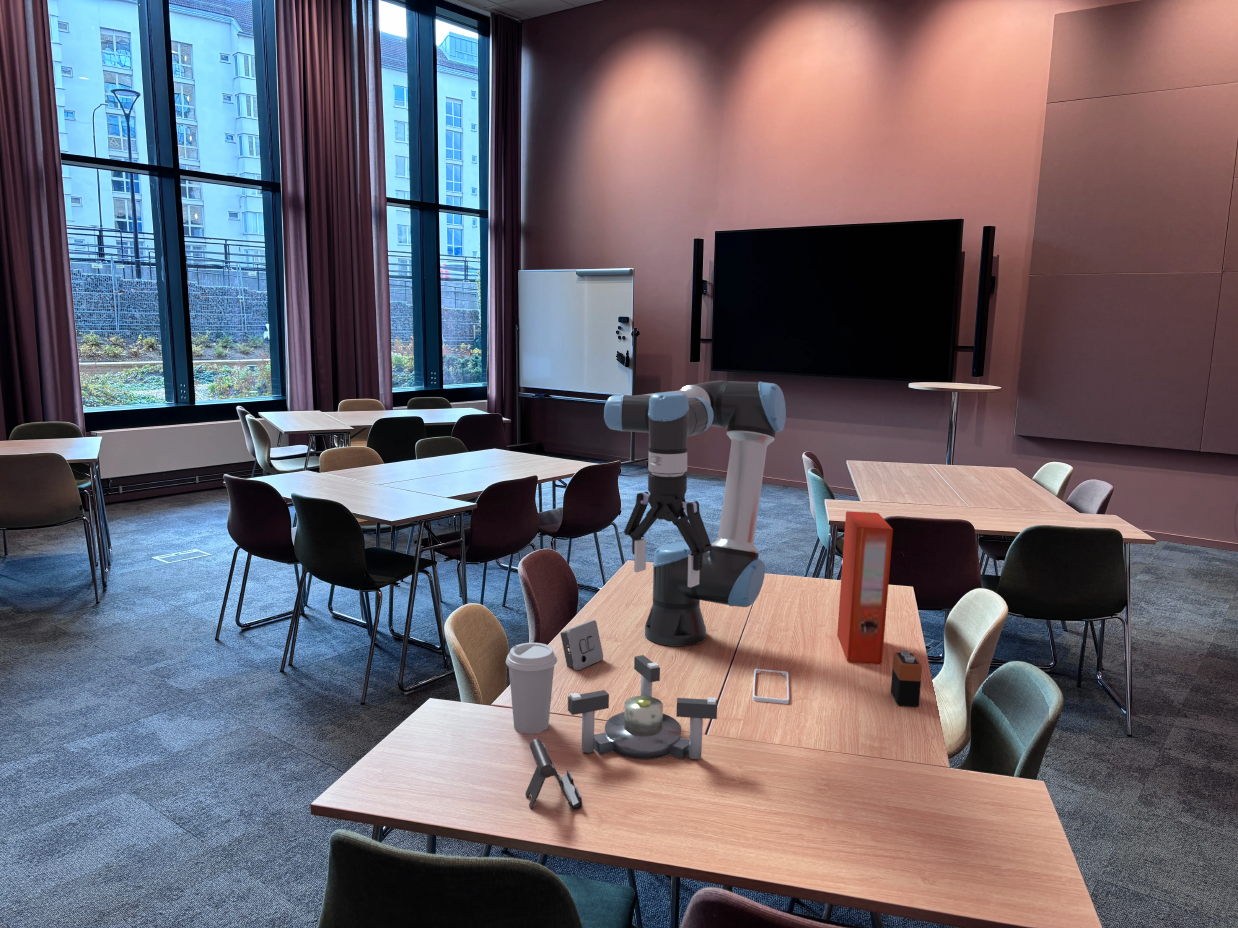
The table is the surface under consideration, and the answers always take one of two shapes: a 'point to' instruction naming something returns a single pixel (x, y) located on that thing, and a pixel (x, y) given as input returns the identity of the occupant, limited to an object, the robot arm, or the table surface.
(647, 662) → the foot screw
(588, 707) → the foot screw
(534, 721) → the coffee cup
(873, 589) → the file binder
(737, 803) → the table surface
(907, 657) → the battery
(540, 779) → the portable electronic device stand
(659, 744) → the levelling base
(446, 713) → the table surface
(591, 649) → the electrical switch
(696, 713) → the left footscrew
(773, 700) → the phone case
